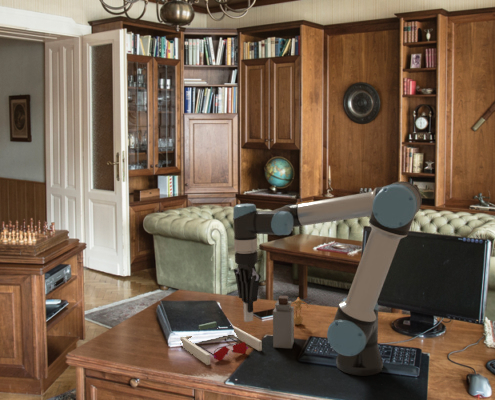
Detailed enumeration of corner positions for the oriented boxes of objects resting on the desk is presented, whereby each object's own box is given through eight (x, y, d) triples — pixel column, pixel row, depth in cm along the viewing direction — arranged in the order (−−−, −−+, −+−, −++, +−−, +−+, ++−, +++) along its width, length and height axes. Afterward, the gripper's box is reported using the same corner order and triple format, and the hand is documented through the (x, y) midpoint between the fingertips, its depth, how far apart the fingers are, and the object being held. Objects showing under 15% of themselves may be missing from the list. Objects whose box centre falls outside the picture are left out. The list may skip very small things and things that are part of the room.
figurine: (307, 322, 228) (307, 294, 227) (309, 327, 222) (309, 298, 221) (287, 323, 228) (286, 294, 227) (288, 328, 222) (288, 299, 221)
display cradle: (261, 350, 200) (261, 332, 199) (207, 365, 188) (206, 346, 187) (232, 333, 217) (232, 317, 216) (180, 346, 205) (180, 329, 204)
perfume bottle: (291, 348, 201) (291, 300, 199) (273, 347, 203) (272, 299, 200) (293, 341, 208) (293, 294, 206) (276, 340, 209) (275, 294, 207)
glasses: (214, 364, 190) (214, 349, 189) (192, 348, 203) (192, 335, 203) (248, 354, 197) (248, 341, 197) (225, 340, 211) (224, 327, 210)
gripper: (266, 252, 179) (269, 323, 182) (244, 246, 190) (247, 313, 193) (247, 255, 175) (250, 328, 178) (226, 249, 186) (228, 318, 189)
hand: (248, 320), depth 185 cm, fingers closed
